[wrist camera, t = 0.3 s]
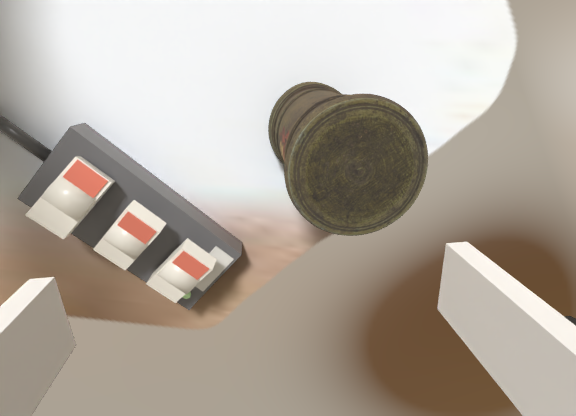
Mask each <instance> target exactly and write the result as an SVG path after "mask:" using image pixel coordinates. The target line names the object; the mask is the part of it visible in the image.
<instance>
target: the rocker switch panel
mask: <svg viewBox="0 0 576 416" xmlns="http://www.w3.org/2000/svg"><path fill="white" fill-rule="evenodd" d="M0 131H1V132H3V133H4V134H5V135H7V136H8V137H10V138H11V139H13V140H14V141H15V142H17V143H18V144H20V145H21V146H23V147H24V148H25V149H27V150H28V151H30V152H31V153H33V154H34V155H35V156H37V157H38V158H40V159H41V160H43V161H44V163H43V164H42V166H41V167H40V168H39V170H38V171H37V172H36V174H35V175H34V177H33V178H32V179H31V181H30V182H29V183H28V185H27V186H26V187H25V189H24V190H23V191H22V193H21V194H20V196H19V197H18V198H17V199H19V200H20V201H22V202H23V203H25V204H26V205H28V206H30V207H32V206H33V205H34V204H35V203H36V202H37V201H38V199H39V198H40V197H41V196H42V195H43V193H44V192H45V191H46V189H47V188H48V187H49V186H50V185H51V184H52V183H53V182H54V181H55V180H56V178H57V177H58V176H59V175H60V174H61V173H62V171H63V170H64V169H65V168H66V167H67V166H68V164H69V163H70V162H71V161H72V160H73V159H74V158H75V156H81V157H83V158H84V159H85V160H87V161H88V162H90V163H91V164H92V165H94V166H95V167H96V168H98V169H99V170H101V171H102V172H103V173H105V174H106V175H107V176H109V177H110V178H112V179H113V180H114V181H115V182H114V183H113V184H112V186H111V187H110V188H109V189H108V190H107V192H106V193H105V194H104V195H103V196H102V197H101V199H100V200H99V201H98V202H97V203H96V204H95V206H94V207H93V208H92V209H91V210H90V212H89V213H88V214H87V215H86V216H85V217H84V219H83V220H82V221H81V222H80V223H79V225H78V226H77V227H76V228H75V229H74V230H73V232H72V233H71V234H73V235H74V236H76V237H77V238H79V239H80V240H82V241H83V242H85V243H87V244H88V245H90V246H91V247H93V248H95V246H96V245H97V244H98V243H99V241H100V240H101V239H102V238H103V236H104V235H105V234H106V233H107V231H108V230H109V229H110V228H111V226H112V225H113V224H114V223H115V221H116V220H117V219H118V218H119V216H120V215H121V214H122V213H123V211H124V210H125V209H126V208H127V207H128V206H129V204H130V203H131V202H132V201H133V200H135V201H137V202H138V203H139V204H141V205H142V206H144V207H145V208H146V209H148V210H149V211H151V212H152V213H153V214H155V215H156V216H157V217H159V218H160V219H162V220H163V221H164V222H166V225H165V226H164V228H163V229H162V231H161V232H160V233H159V234H158V236H157V237H156V238H155V239H154V240H153V241H152V242H151V243H150V244H149V245H148V246H147V248H146V249H145V250H144V251H143V252H142V253H141V254H140V255H139V256H138V257H137V259H136V260H135V261H134V262H133V263H132V264H131V265H130V266H129V267H128V268H127V270H128V271H130V272H131V273H133V274H134V275H136V276H137V277H139V278H140V279H142V280H143V281H145V282H147V281H148V280H149V278H150V277H151V275H152V273H153V272H154V271H155V270H156V269H157V268H158V267H159V266H160V265H161V264H162V263H163V262H164V261H165V260H166V259H167V258H168V257H169V256H170V254H171V253H172V252H173V251H174V250H175V249H177V248H178V247H179V246H180V245H181V244H182V243H183V242H184V241H185V240H186V239H187V238H188V239H189V240H191V241H192V242H193V243H195V244H196V245H198V246H199V247H200V248H202V249H203V250H205V251H206V252H207V253H209V254H210V255H211V256H213V257H214V258H216V259H217V260H216V262H215V265H214V267H213V270H212V271H211V272H210V273H208V274H207V275H206V276H205V277H204V278H203V279H202V280H201V281H199V282H198V283H197V285H196V286H195V287H194V288H193V289H192V290H191V291H190V292H189V293H188V294H185V295H184V296H183V297H182V298H181V299H179V300H178V301H177V303H179V304H180V305H182V306H183V307H185V308H187V309H188V310H190V309H191V308H192V306H193V305H194V304H195V303H196V302H197V301H198V300H199V299H200V298H201V297H202V296H203V295H204V294H205V293H206V292H207V291H208V290H209V289H210V287H211V286H212V285H213V284H214V283H215V282H216V281H217V280H218V279H219V278H220V277H221V276H222V275H223V274H224V273H225V272H226V271H227V270H228V268H229V267H230V266H231V265H232V264H233V263H234V262H235V261H236V260H237V259H238V258H239V257H240V256H241V255H242V242H241V241H240V240H238V239H237V238H236V237H234V236H233V235H232V234H230V233H229V232H228V231H227V230H225V229H224V228H223V227H221V226H220V225H219V224H217V223H216V222H215V221H213V220H212V219H211V218H209V217H208V216H207V215H205V214H204V213H203V212H202V211H200V210H199V209H198V208H196V207H195V206H194V205H192V204H191V203H190V202H188V201H187V200H186V199H184V198H183V197H182V196H180V195H179V194H178V193H177V192H175V191H174V190H173V189H171V188H170V187H169V186H167V185H166V184H165V183H163V182H162V181H161V180H159V179H158V178H157V177H155V176H154V175H153V174H152V173H150V172H149V171H148V170H146V169H145V168H144V167H142V166H141V165H140V164H138V163H137V162H136V161H134V160H133V159H132V158H130V157H129V156H128V155H127V154H125V153H124V152H123V151H121V150H120V149H119V148H117V147H116V146H115V145H113V144H112V143H111V142H109V141H108V140H107V139H105V138H104V137H103V136H102V135H100V134H99V133H98V132H96V131H95V130H94V129H92V128H91V127H90V126H88V125H87V124H86V123H82V124H79V125H75V126H71V127H70V128H69V129H68V130H67V132H66V133H65V134H64V136H63V137H62V139H61V140H60V141H59V143H58V144H57V145H56V147H55V148H54V149H53V151H51V150H49V149H48V148H47V147H45V146H44V145H42V144H41V143H40V142H38V141H37V140H35V139H34V138H33V137H31V136H30V135H28V134H27V133H26V132H24V131H23V130H21V129H20V128H19V127H17V126H16V125H14V124H13V123H12V122H10V121H9V120H7V119H6V118H4V117H3V116H2V115H0Z"/></svg>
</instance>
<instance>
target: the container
mask: <svg viewBox="0 0 576 416" xmlns="http://www.w3.org/2000/svg"><path fill="white" fill-rule="evenodd" d="M268 131H269V139H270V143H271V146H272V148H273V150H274V152H275V154H276V155H277V157H278V158H279V159H280V160H281V162H282V163H283V164H284V165H285V167H284V176H285V183H286V187H287V191H288V194H289V196H290V199H291V201H292V202H293V204H294V206H295V207H296V209H297V210H298V211H299V213H300V214H301V215H302V216H303V217H304V218H305V219H306V220H307V221H309V222H310V223H311V224H313V225H314V226H316V227H318V228H320V229H322V230H324V231H327V232H330V233H333V234H338V235H348V236H353V235H363V234H368V233H372V232H375V231H378V230H380V229H382V228H384V227H387V226H388V225H390V224H392V223H393V222H394V221H396V220H397V219H398V218H400V217H401V216H402V215H403V214H404V213H405V212H406V211H407V210H408V209H409V208H410V207H411V206H412V204H413V203H414V201H415V200H416V198H417V197H418V195H419V193H420V191H421V189H422V186H423V184H424V181H425V177H426V172H427V166H428V151H427V145H426V141H425V137H424V135H423V132H422V130H421V128H420V126H419V125H418V123H417V121H416V120H415V119H414V117H413V116H412V115H411V114H410V113H409V112H408V111H407V110H406V109H404V108H403V107H402V106H400V105H399V104H397V103H396V102H394V101H392V100H390V99H387V98H385V97H381V96H378V95H373V94H353V95H342V94H341V93H340V92H339V91H337V90H336V89H334V88H332V87H330V86H328V85H325V84H322V83H318V82H305V83H301V84H298V85H295V86H293V87H292V88H290V89H289V90H287V91H286V92H285V93H284V94H283V95H282V96H281V97H280V98H279V99H278V101H277V102H276V104H275V106H274V108H273V110H272V112H271V116H270V120H269V130H268Z"/></svg>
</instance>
